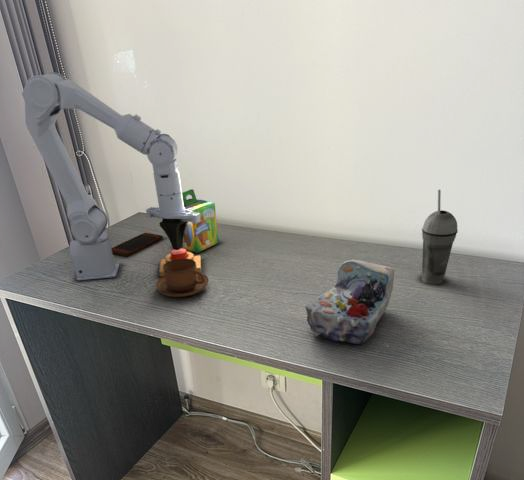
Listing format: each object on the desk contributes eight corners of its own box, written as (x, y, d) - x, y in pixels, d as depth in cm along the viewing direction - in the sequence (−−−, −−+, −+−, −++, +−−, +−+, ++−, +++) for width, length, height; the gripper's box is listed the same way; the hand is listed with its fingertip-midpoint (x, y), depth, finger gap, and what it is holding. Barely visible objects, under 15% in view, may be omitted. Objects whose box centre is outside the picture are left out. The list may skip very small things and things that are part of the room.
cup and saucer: (213, 278, 118) (210, 254, 115) (203, 301, 108) (200, 276, 105) (165, 278, 119) (160, 254, 116) (150, 302, 110) (145, 276, 106)
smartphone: (163, 235, 142) (126, 253, 132) (163, 238, 143) (127, 256, 132) (145, 231, 146) (107, 249, 135) (145, 234, 146) (108, 252, 136)
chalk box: (197, 254, 132) (190, 198, 124) (173, 247, 137) (164, 193, 128) (220, 243, 138) (214, 189, 130) (196, 237, 143) (189, 185, 134)
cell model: (402, 258, 95) (371, 305, 81) (397, 306, 101) (367, 359, 87) (338, 248, 101) (298, 292, 86) (336, 295, 107) (299, 343, 92)
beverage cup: (451, 287, 107) (466, 195, 96) (416, 286, 109) (428, 195, 98) (447, 273, 113) (462, 184, 102) (414, 272, 115) (425, 185, 104)
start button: (171, 261, 121) (169, 255, 120) (171, 255, 124) (170, 249, 123) (187, 260, 121) (186, 253, 120) (187, 254, 125) (186, 247, 124)
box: (160, 276, 121) (157, 264, 119) (162, 264, 127) (160, 252, 126) (201, 272, 121) (199, 260, 120) (200, 260, 128) (199, 248, 126)
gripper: (204, 190, 114) (211, 246, 121) (155, 185, 120) (164, 239, 127) (186, 199, 109) (194, 256, 116) (136, 193, 115) (147, 248, 122)
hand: (178, 248), depth 121 cm, fingers closed
